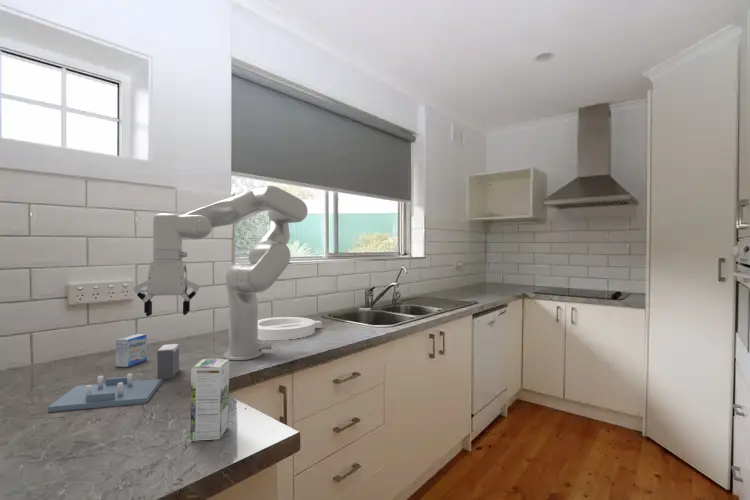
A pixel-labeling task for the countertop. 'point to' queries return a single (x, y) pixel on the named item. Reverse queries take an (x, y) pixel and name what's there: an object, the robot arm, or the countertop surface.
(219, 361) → the syrup box
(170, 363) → the block
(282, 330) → the ring with crossbar
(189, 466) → the countertop surface
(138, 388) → the blue fixture board
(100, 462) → the countertop surface
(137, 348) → the medicine box
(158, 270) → the robot arm
